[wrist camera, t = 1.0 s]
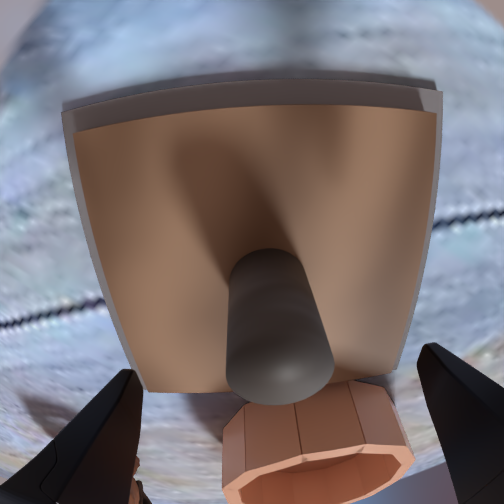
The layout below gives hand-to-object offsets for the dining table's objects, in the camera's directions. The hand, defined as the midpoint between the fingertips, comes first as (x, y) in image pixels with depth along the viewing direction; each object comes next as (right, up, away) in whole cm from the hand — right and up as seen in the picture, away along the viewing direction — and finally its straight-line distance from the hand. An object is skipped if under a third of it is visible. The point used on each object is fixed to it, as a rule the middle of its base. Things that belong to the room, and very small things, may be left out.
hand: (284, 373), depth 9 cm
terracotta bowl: (+4, -10, +13) cm, 17 cm away
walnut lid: (0, +3, +5) cm, 6 cm away
